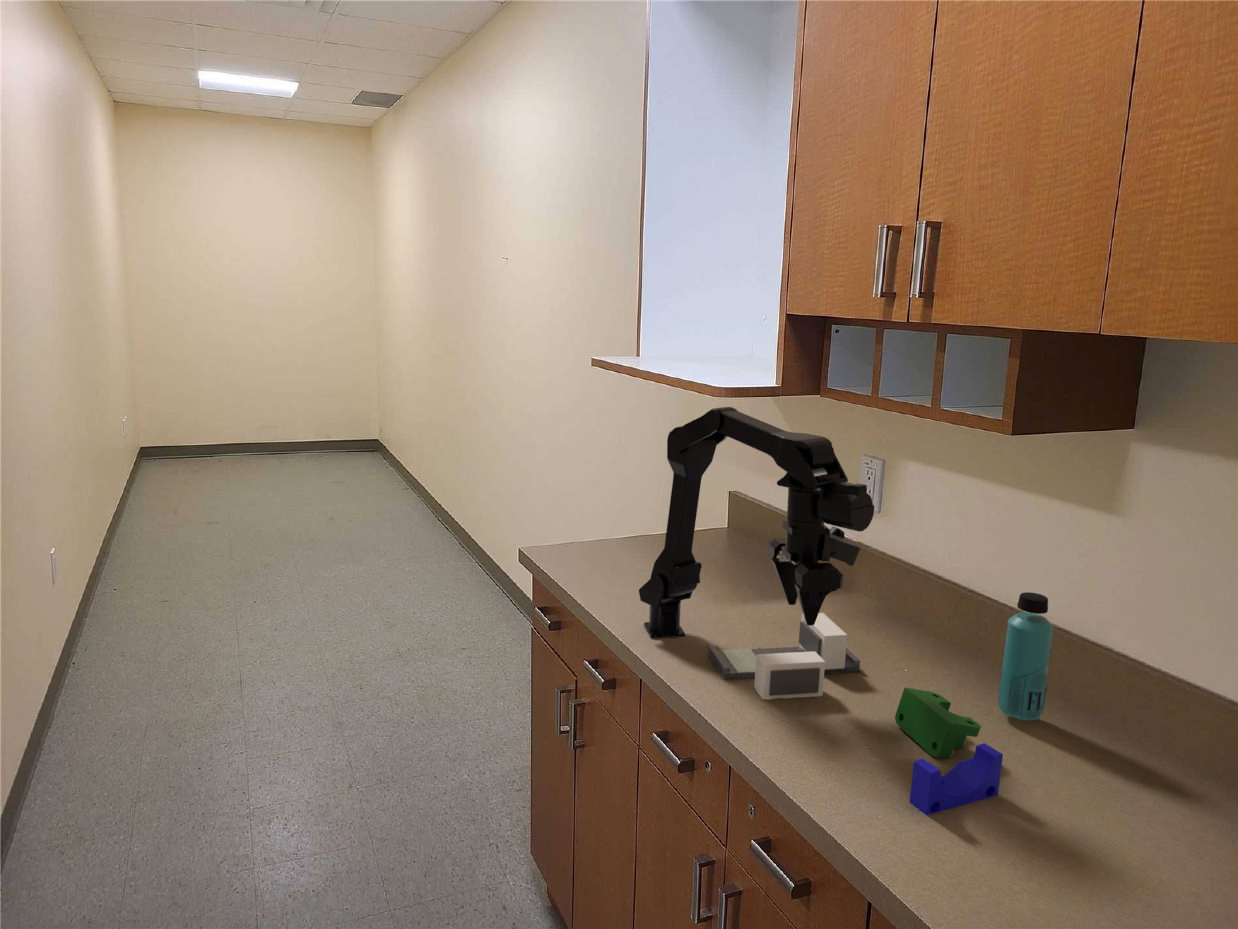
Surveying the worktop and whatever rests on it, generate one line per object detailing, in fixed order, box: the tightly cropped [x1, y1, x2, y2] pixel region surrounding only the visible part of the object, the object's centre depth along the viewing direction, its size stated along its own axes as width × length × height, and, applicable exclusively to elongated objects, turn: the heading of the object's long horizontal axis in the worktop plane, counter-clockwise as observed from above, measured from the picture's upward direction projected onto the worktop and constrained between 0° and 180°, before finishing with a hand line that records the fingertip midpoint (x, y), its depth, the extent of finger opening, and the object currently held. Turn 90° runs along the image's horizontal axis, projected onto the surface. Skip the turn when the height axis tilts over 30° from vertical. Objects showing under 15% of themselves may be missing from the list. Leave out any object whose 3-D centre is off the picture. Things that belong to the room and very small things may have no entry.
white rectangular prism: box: [753, 651, 825, 700], centre depth 141 cm, size 4×10×6 cm, turn 101°
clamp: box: [894, 687, 982, 759], centre depth 128 cm, size 12×6×9 cm, turn 9°
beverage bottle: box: [996, 591, 1054, 721], centre depth 133 cm, size 6×7×20 cm
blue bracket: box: [909, 742, 1004, 816], centre depth 113 cm, size 12×4×6 cm, turn 114°
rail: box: [707, 645, 861, 680], centre depth 152 cm, size 9×24×2 cm, turn 101°
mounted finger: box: [798, 612, 848, 669], centre depth 152 cm, size 10×5×6 cm, turn 11°
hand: (800, 614), depth 139 cm, fingers open, 9 cm apart
